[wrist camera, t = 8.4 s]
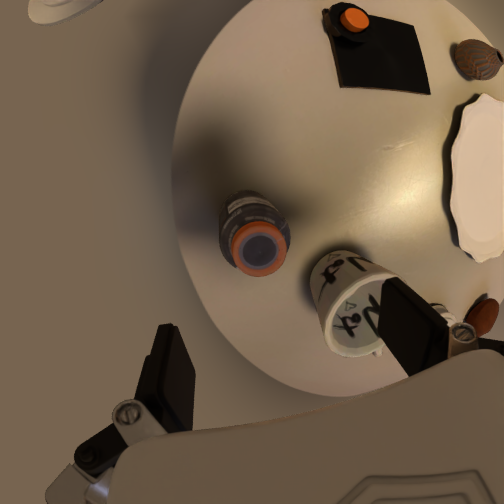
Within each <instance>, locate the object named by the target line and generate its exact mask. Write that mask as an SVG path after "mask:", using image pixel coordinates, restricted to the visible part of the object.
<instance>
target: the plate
mask: <svg viewBox="0 0 504 504" xmlns="http://www.w3.org/2000/svg"><path fill="white" fill-rule="evenodd" d="M450 156H451V167H452V186H451V194H450V201H449V203H450V211H451V213H452V216H453V218H454V221H455V223H456V226H457V233H458V242H459V246H460V248H461V249H462V250H464V251H466V252H468V253H469V254H471V256H472V257H473V258H474V260H475V261H476V263H482V262H484V261H486V260H487V259H489V258H497V257H499V256H500V255H501V253H502V252H503V250H504V102H503V101H498V100H495V99H494V98H492V97H491V96H489V95H488V94H486V93H482V94H481V95H480V96H479V98H478V99H477V100H476V101H475V102H474V103H471V104H469V105H466V106H465V107H464V109H463V110H462V115H461V122H460V128H459V131H458V134H457V136H456V138H455V140H454V143H453V145H452V148H451V155H450Z"/></svg>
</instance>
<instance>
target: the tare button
mask: <svg viewBox="0 0 504 504" xmlns="http://www.w3.org/2000/svg"><path fill="white" fill-rule="evenodd" d="M340 21H341V23H342V25H343V26H344V27H345V28H346V29H348V30H349V31H352V32H361V31H362V30H363V29H365V28H366V27H368V25H369V20H368V18H367V16H366V15H365V14H364V13H363V12H362V11H360V10H359V9H356V8H349V9H347V10H346V11H345V12H344V13H343V14H342V15H341V17H340Z"/></svg>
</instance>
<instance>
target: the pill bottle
mask: <svg viewBox="0 0 504 504" xmlns="http://www.w3.org/2000/svg"><path fill="white" fill-rule="evenodd" d="M219 243H220V248H221V252H222V254H223V256H224V257H225V259H226V260H227V261H228V262H229V263H230V264H231V265H232V266H233V267H235V268H237V269H239V270H241V271H242V272H244V273H245V274H247V275H250V276H254V277H261V276H267V275H269V274H272V273H273V272H275V271H276V270H278V269H279V268H280V266H281V265H282V264H283V262H284V260H285V257H286V253H287V251H288V249H289V245H290V229H289V226H288V223H287V221H286V220H285V218H284V217H283V216H282V214H280V212H279V211H278V210H277V209H276V208H275V207H274V206H273V205H272V204H271V203H270V202H269V201H268V200H267V199H266V198H265V197H264V196H263V195H261V194H260V193H257V192H255V191H240V192H237V193H234V194H233V195H231V196H230V197H229V198H228V199H227V200H226V201H225V202H224V204H223V205H222V207H221V210H220V215H219Z"/></svg>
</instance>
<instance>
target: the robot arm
mask: <svg viewBox="0 0 504 504" xmlns="http://www.w3.org/2000/svg"><path fill="white" fill-rule="evenodd" d="M41 1H42V3H44V4H45V5H47V6H50V7H56V6H60V5H64V4H66V3H69V2H71V1H73V0H41ZM447 324H448V321H447V320H446V319H445V318H444V317H443V316H442V315H440V314H439V313H438V312H437V311H436V310H435V309H434V308H433V307H432V306H431V305H429V304H428V303H427V302H426V301H425V300H424V299H423V298H422V297H420V296H419V295H418V294H417V293H416V292H415V291H414V290H412V289H411V288H410V287H409V286H408V285H407V284H405V283H404V282H403V281H402V280H401V279H400V278H398V277H392V278H388V279H386V280H385V281H384V283H383V284H382V288H381V299H380V309H379V318H378V326H377V332H378V335H379V336H380V338H381V339H382V340H383V342H384V343H385V344H386V346H387V347H388V348H389V350H390V351H391V352H392V354H393V355H394V356H395V358H396V359H397V361H398V362H399V363H400V365H401V366H402V368H403V369H404V370H405V372H406V373H407V375H408V376H409V377H408V378H406V379H403V380H401V381H399V382H396V383H394V384H391V385H389V386H386V387H384V388H381V389H378V390H376V391H373V392H370V393H368V394H365V395H362V396H359V397H356V398H353V399H350V400H347V401H344V402H341V403H337V404H334V405H330V406H327V407H323V408H320V409H316V410H312V411H308V412H304V413H300V414H296V415H291V416H287V417H282V418H277V419H272V420H267V421H262V422H256V423H249V424H243V425H235V426H228V427H221V428H212V429H202V430H194V431H192V428H193V409H194V391H195V377H196V374H195V369H194V367H193V364H192V362H191V359H190V357H189V354H188V352H187V349H186V347H185V344H184V342H183V339H182V337H181V334H180V332H179V329H178V327H177V326H173V324H171V323H170V324H163V325H159V326H158V329H157V333H156V336H155V339H154V343H153V346H152V350H151V354H150V355H148V356H146V358H145V361H144V364H143V368H142V371H141V375H140V378H139V382H138V386H137V389H136V393H135V397H134V399H130V400H125V401H123V402H121V403H119V404H118V405H117V406H116V407H115V408H114V410H113V412H112V420H113V423H112V424H111V425H109V426H108V427H106V428H105V429H103V430H102V431H100V432H99V433H97V434H96V435H94V436H93V437H91V438H90V439H88V440H86V441H85V442H84V443H82V444H81V445H80V446H79V447H77V449H76V451H75V454H74V460H75V463H74V464H73V465H71V464H69V465H68V466H67V467H66V468H65V469H64V470H63V471H62V472H61V474H60V475H59V476H58V477H57V478H56V479H55V480H54V482H53V483H52V484H51V485H50V486H49V487H48V488H47V490H46V492H45V500H46V502H47V504H504V341H498V340H492V339H485V338H479V337H478V336H477V331H476V330H475V328H474V327H472V326H471V325H469V324H467V323H463V322H458V323H455V324H453V325H451V327H449V326H448V325H447Z"/></svg>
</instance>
